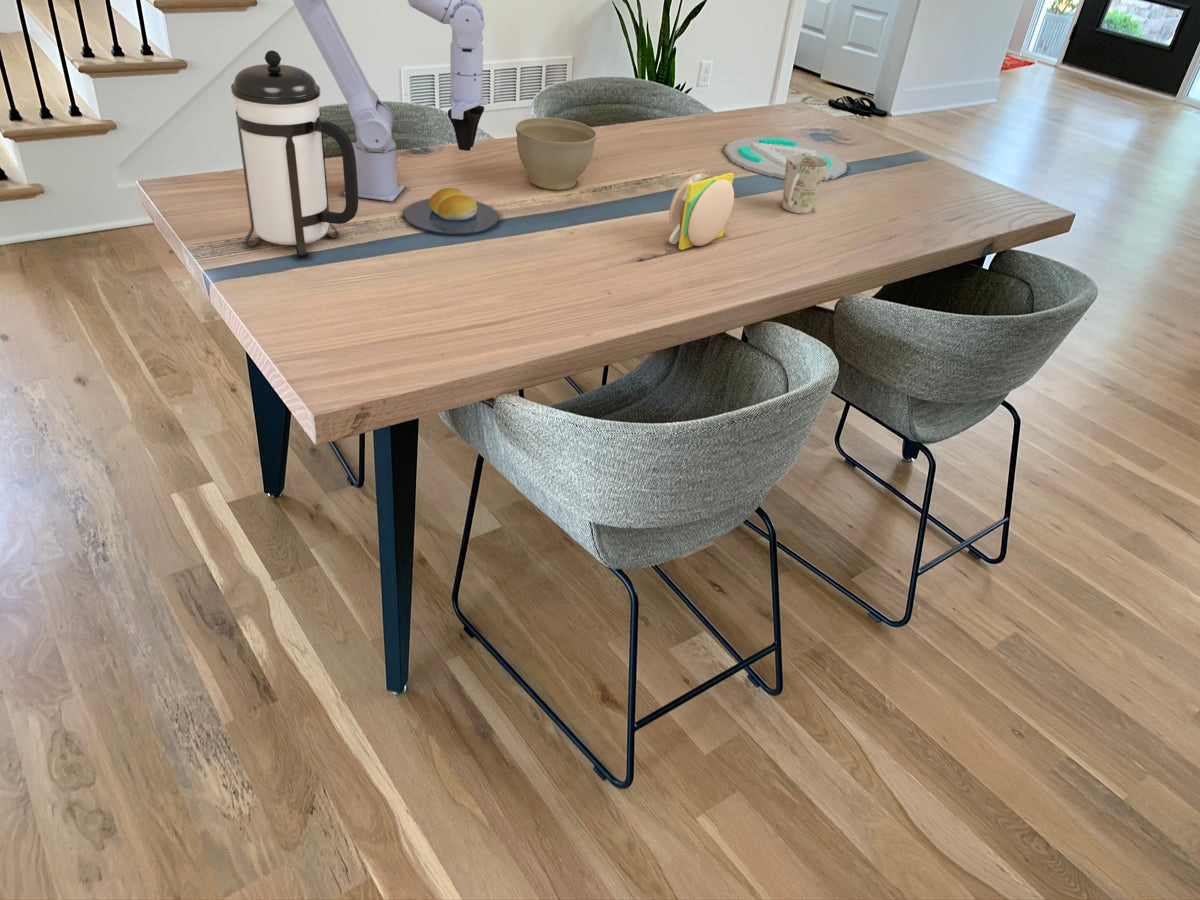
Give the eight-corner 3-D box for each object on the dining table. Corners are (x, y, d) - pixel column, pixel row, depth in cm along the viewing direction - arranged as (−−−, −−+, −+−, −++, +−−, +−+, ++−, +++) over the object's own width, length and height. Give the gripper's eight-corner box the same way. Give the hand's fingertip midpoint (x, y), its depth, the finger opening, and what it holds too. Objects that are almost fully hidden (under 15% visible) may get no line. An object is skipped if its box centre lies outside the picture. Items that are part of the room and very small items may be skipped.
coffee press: (251, 266, 142) (223, 65, 124) (241, 226, 153) (213, 38, 136) (362, 257, 148) (350, 65, 131) (344, 219, 160) (331, 39, 142)
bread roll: (449, 225, 161) (448, 203, 159) (422, 208, 166) (421, 187, 164) (487, 217, 166) (487, 196, 163) (460, 200, 171) (460, 180, 169)
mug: (820, 207, 189) (832, 159, 183) (805, 225, 179) (817, 176, 173) (782, 197, 191) (793, 150, 185) (766, 215, 182) (776, 166, 176)
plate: (392, 228, 159) (392, 225, 159) (419, 195, 173) (419, 192, 172) (487, 241, 158) (487, 238, 158) (506, 206, 172) (506, 204, 172)
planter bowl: (576, 202, 177) (580, 147, 171) (501, 186, 181) (502, 131, 174) (602, 179, 190) (607, 126, 184) (531, 163, 193) (534, 112, 187)
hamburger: (698, 225, 174) (708, 163, 167) (732, 240, 169) (743, 177, 162) (657, 238, 167) (665, 174, 160) (690, 254, 162) (701, 189, 155)
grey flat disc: (760, 133, 228) (761, 126, 227) (862, 162, 216) (864, 156, 215) (704, 156, 209) (705, 149, 208) (813, 189, 197) (815, 182, 196)
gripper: (479, 84, 155) (478, 162, 163) (496, 65, 167) (494, 139, 175) (439, 79, 155) (440, 157, 163) (459, 60, 167) (459, 134, 175)
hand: (466, 148), depth 169 cm, fingers closed
